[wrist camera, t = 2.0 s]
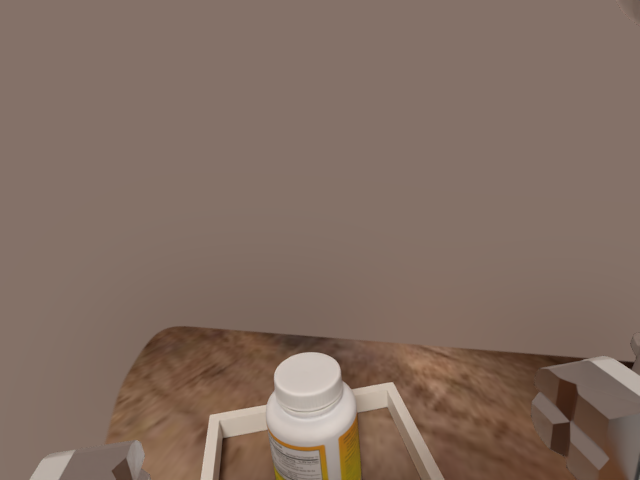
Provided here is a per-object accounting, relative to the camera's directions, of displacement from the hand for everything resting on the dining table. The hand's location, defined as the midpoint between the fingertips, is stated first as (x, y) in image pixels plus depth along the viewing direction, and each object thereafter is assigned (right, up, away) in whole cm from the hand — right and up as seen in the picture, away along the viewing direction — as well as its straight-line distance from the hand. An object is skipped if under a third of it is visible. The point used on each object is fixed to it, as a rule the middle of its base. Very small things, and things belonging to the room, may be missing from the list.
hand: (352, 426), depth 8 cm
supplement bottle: (-1, -14, +18) cm, 23 cm away
